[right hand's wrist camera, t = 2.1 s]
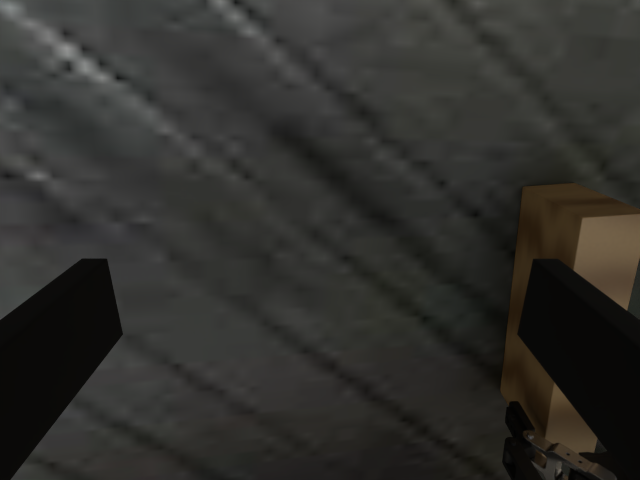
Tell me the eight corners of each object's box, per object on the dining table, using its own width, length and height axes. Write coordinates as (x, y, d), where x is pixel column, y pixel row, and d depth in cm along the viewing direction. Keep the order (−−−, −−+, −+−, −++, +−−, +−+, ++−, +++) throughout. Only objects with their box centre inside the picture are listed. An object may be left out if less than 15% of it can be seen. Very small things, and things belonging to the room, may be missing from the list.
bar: (522, 186, 38) (582, 217, 29) (574, 182, 38) (650, 213, 29) (499, 391, 47) (540, 462, 38) (542, 388, 47) (592, 459, 38)
